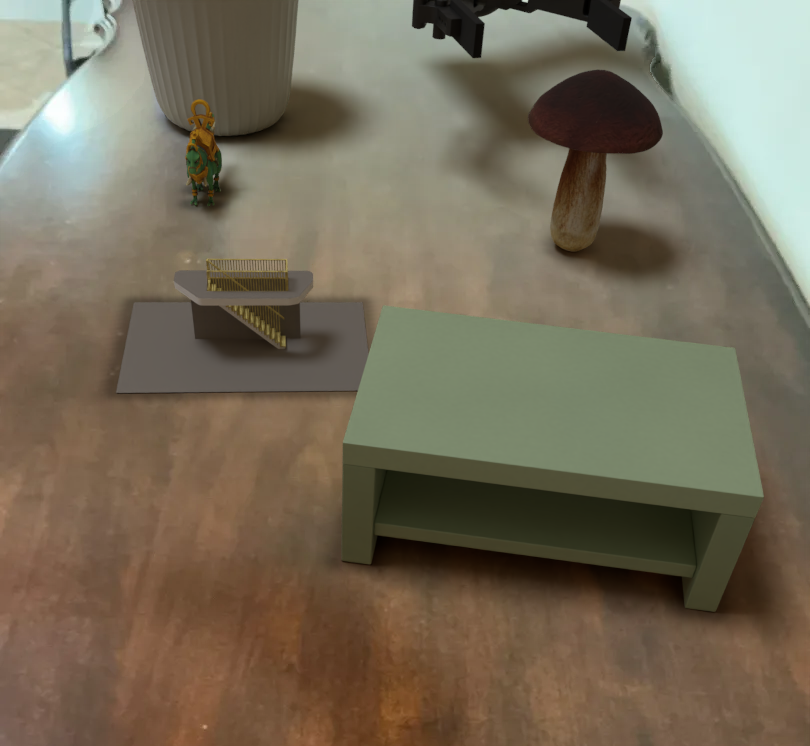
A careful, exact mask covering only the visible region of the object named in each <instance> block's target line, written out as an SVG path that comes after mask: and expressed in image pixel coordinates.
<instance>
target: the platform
mask: <svg viewBox="0 0 810 746" xmlns="http://www.w3.org/2000/svg"><path fill="white" fill-rule="evenodd" d="M205 259H206V260H205V265H206V269H205V270H200V269H197V270H196V269H194V270H192V269H190V270H189V269H188V270H186V269H185V270H184V269H181V270H177V271H175V272H174V275H173V276H174V277H173V285H174V289H175V290H176V291H178V292H179V293H180V294H182V295H184V296H185V297H187V298H188V299H189V300H190V301H180V302H179V301H178V302H177V301H173V302H172V301H170V302H169V301H163V302H161V301H149V302H148V301H134V302H133V305H132V309H131V315H130V320H129V324H128V330H127V335H126V339H125V344H124V350H123V354H122V360H121V364H120V371H119V376H118V380H117V386H116V391H115V394H142V393H143V394H145V393H146V394H149V393H150V394H151V393H152V394H154V393H155V394H156V393H159V394H160V393H240V392H241V393H247V392H251V393H252V392H254V393H255V392H259V393H261V392H262V393H263V392H343V391H344V392H345V391H346V392H348V391H349V392H350V391H354V392H356V391H357V392H358V389H359V385H360V382H361V378H362V375H363V371H364V368H365V365H366V361H367V358H368V354H369V345H368V337H367V328H366V321H365V311H364V304H363V303H364V302H363V301H343V302H342V301H323V302H322V301H313V302H312V301H303V300H304V299H305V297H306V296H307V295H308V294H309V293H310V292H311V291H312V290H313V288H314V273H313V272H312V271H311V270H289V268H288V267H289V264H288V258H205ZM215 261H216V262H215ZM226 261H227V263H226ZM237 261H238V262H237ZM259 261H260V262H259ZM267 261H270V262H271V264H270V263H268V262H267ZM278 261H279V263H281V265H282V266H279V263H278ZM218 262H219V266H218ZM240 263H241V264H240ZM249 263H251V264H249ZM229 264H230V267H229ZM260 264H262V266H263V267H262V266H259V265H260ZM240 265H241V266H243V267H241V266H240ZM251 265H252V267H251ZM221 266H222V267H221ZM232 266H233V267H232ZM271 266H273V269H274V270H273V269H271ZM281 267H282V268H281ZM213 268H214V269H213ZM232 268H233V269H232ZM243 268H244V269H243ZM262 268H263V270H262ZM281 269H282V270H281ZM284 269H285V270H284Z"/></svg>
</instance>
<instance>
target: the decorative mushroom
mask: <svg viewBox="0 0 810 746" xmlns="http://www.w3.org/2000/svg"><path fill="white" fill-rule="evenodd" d="M527 123H528V126H529V128H530V129H531V130H532V132H533V133H534V134H535V135H537V136H539V137H540V138H542V139H544V140H546V141H548V142H549V143H552V144H555V145H557V146H560V147H563V148H567V149H568V152H567V156H566V159H565V162H564V165H563V168H562V170H561V174H560V178H559V181H558V184H557V188H556V193H555V197H554V201H553V206H552V211H551V217H550V223H549V224H550V225H549V228H550V229H549V231H550V237H551V239H552V242H553V244H554V245H556V246H558V247H559V248H561V249H562V250H564V251H567V252H573V253H576V252H579V251H583V250H584V249H586V248H588V247H589V246H591V245H592V244H593V242H594V241H595V239H596V237H597V235H598V231H599V228H600V222H601V218H602V213H603V207H604V199H605V191H606V184H607V183H606V181H607V170H608V169H607V154H608V155H609V154H613V155H614V154H617V155H619V154H620V155H633V154H638V153H639V154H640V153H644V152H647V151H649V150H650V149H652V148H654V147H655V146H656V145H657V144H658V143H659V142H660V141H661V139H662V138H663V135H664V131H663V125H662V121H661V118H660V115H659V112H658V111H657V109H656V107H655V106H654V104H653V103H652V101H651V100H650V99H649V98H648V97H647V96H646V95H645V94H644V93H643V92H642V91H641V90H639V89H638V88H637V86H635V85H633V83H631V82H629V81H628V80H626V79H625V78H624V77H622V76H620V75H618V74H616V73H614V72H612V71H610V70H606V69H592V70H591V69H590V70H586V71H583V72H579V73H577V74H574V75H571V76H569V77H567V78H565V79H563V80H562V81H560V82H558V83H557V84H555V85H554V86H552V87H551V88H550V89H548V90H546V91H545V92H544V93H543V94H541V95H540V96H539V97H538V99H537V100H536V101H535V102H534V105H533V106H532V107H531V109H530V111H529V112H528V115H527Z"/></svg>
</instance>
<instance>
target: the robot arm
mask: <svg viewBox="0 0 810 746" xmlns="http://www.w3.org/2000/svg"><path fill="white" fill-rule="evenodd" d="M621 1H622V0H527V1H523V0H412V15H411V28H413V29H416V30H421V29H425V28H426V26H427V24H432V39H433V40H445V39H446V36H448V37H449V38H450V37H451V38H452V39H454V41H455V42H457V44H458V45H459V46H460V47H461V48H462V49H463V50H464V51H465V52H466V53H467V54H468V55H469V56H470V57H471V58H472V59H482V54H483V53H482V51H483V43H484V34H485V24H486V23H485V22H484V21H483V20H482V19H481V18H482V17H485V16H489V15H491V14H492V13H494V12H496V11H497V10H498V9H499V10H504V11H508V10H515V11H518V12H523V13H526V14H532V13H534V12H536V11H542V12H547V13H550V14H554V15H558V16H562V17H566V18H570V19H573V20H577V21H582V22H586V28H587V29H588V30H590V31H591V32H592V33H593V34H595V35H596V37H598V38H600V39H601V40H602V41H604V42H605V43H606V44H607V45H608V46H610V47H611V48H612V49H614V50H615V51H616V52H625V51H626V48H627V43H628V38H629V35H630V34H629V33H630V28H631V23H632V17H631V16H630V15H629V14H628V13H626V12H625V11H623V10H622V9H620V7H621Z"/></svg>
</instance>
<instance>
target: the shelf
mask: <svg viewBox="0 0 810 746" xmlns="http://www.w3.org/2000/svg"><path fill="white" fill-rule="evenodd" d="M753 438H754V437H753V432H752V427H751V423H750V417H749V412H748V407H747V401H746V396H745V392H744V386H743V381H742V376H741V371H740V365H739V360H738V355H737V350H736V347H732V346H725V345H723V346H722V345H715V344H706V343H699V342H692V341H691V342H689V341H681V340H674V339H664V338H657V337H648V336H640V335H633V334H632V335H631V334H624V333H615V332H609V331H608V332H606V331H598V330H591V329H582V328H574V327H567V326H566V327H565V326H557V325H550V324H542V323H534V322H533V323H532V322H525V321H516V320H510V319H509V320H508V319H499V318H491V317H483V316H475V315H467V314H459V313H452V312H451V313H450V312H443V311H433V310H426V309H418V308H410V307H403V306H402V307H401V306H393V305H386V304H385V305H382V307H381V310H380V314H379V317H378V321H377V323H376V328H375V331H374V334H373V338H372V340H371V344H370V347H369V350H368V358H367V361H366V365H365V368H364V371H363V375H362V378H361V382H360V385H359V389H358V391H357V392H356V396H355V399H354V402H353V406H352V409H351V413H350V416H349V420H348V423H347V426H346V429H345V433H344V436H343V440H342V454H341V455H342V458H341V459H342V460H341V461H342V462H341V463H342V472H341V474H342V481H341V491H342V492H341V545H340V546H341V548H340V549H341V552H340V553H341V555H340V557H341V561H342V562H349V563H354V564H355V563H357V564H362V565H371V564H372V563H373V558H374V554H375V550H376V544H377V539H378V536H380V537H387V538H394V539H401V540H409V541H415V542H416V541H417V542H425V543H431V544H440V545H446V546H453V547H461V548H468V549H469V548H470V549H476V550H483V551H491V552H496V553H497V552H498V553H506V554H513V555H521V556H526V557H527V556H528V557H536V558H542V559H550V560H558V561H565V562H570V563H571V562H572V563H580V564H587V565H595V566H603V567H610V568H616V569H622V570H623V569H624V570H631V571H638V572H647V573H654V574H660V575H667V576H675V577H681V582H682V592H683V593H682V594H683V605H684V608H685V609H691V610H696V611H697V610H698V611H706V612H711V613H712V612H713V613H715V612H716V611H717V609H718V608H719V605H720V602H721V600H722V598H723V595H724V593H725V590H726V588H727V586H728V583H729V581H730V578H731V576H732V574H733V571H734V570H735V567H736V564H737V562H738V560H739V558H740V555H741V553H742V551H743V548H744V545H745V543H746V540H747V539H748V537H749V534H750V531H751V528H752V526H753V525H754V521H755V519H756V517H757V515H758V513H759V510H760V508H761V505H762V503H763V501H764V498H765V494H764V490H763V485H762V478H761V474H760V468H759V464H758V458H757V454H756V449H755V444H754V443H755V442H754V439H753Z"/></svg>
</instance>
